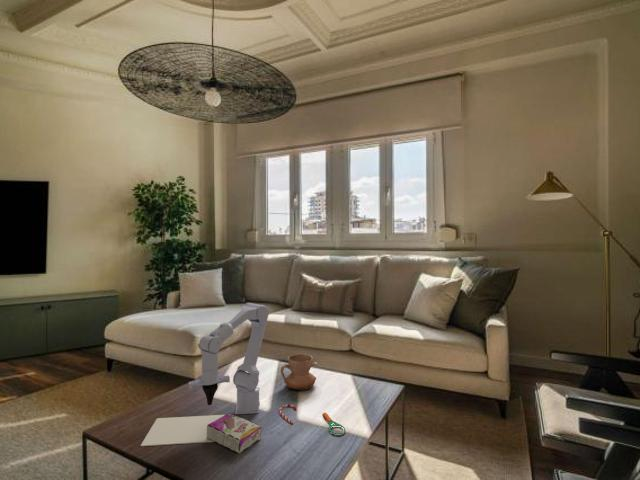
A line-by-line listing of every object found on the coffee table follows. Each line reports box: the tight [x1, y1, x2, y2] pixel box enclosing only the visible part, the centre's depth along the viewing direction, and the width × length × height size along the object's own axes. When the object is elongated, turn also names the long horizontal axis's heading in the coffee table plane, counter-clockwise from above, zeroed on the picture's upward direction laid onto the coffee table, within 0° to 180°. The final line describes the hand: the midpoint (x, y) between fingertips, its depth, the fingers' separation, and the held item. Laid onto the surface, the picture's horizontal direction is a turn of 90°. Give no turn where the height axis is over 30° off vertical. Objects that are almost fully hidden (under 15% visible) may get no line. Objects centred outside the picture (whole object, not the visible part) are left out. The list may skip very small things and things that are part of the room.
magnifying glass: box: [322, 412, 346, 434], centre depth 138 cm, size 15×6×2 cm, turn 23°
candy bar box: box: [207, 412, 262, 454], centre depth 128 cm, size 11×5×16 cm
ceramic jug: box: [280, 353, 318, 391], centre depth 172 cm, size 18×14×14 cm
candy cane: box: [278, 404, 297, 425], centre depth 145 cm, size 8×1×15 cm
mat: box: [140, 414, 226, 447], centre depth 133 cm, size 26×18×1 cm
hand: (209, 403), depth 133 cm, fingers closed
